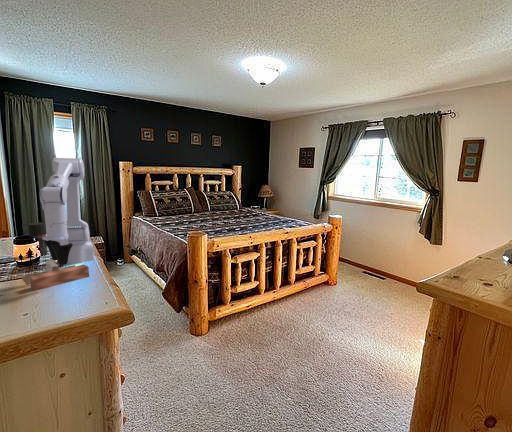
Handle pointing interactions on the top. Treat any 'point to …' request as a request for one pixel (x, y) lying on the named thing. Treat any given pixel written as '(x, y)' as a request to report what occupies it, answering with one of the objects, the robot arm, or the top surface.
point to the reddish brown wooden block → (59, 277)
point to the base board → (27, 277)
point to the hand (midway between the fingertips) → (59, 262)
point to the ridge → (50, 267)
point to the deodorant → (39, 235)
